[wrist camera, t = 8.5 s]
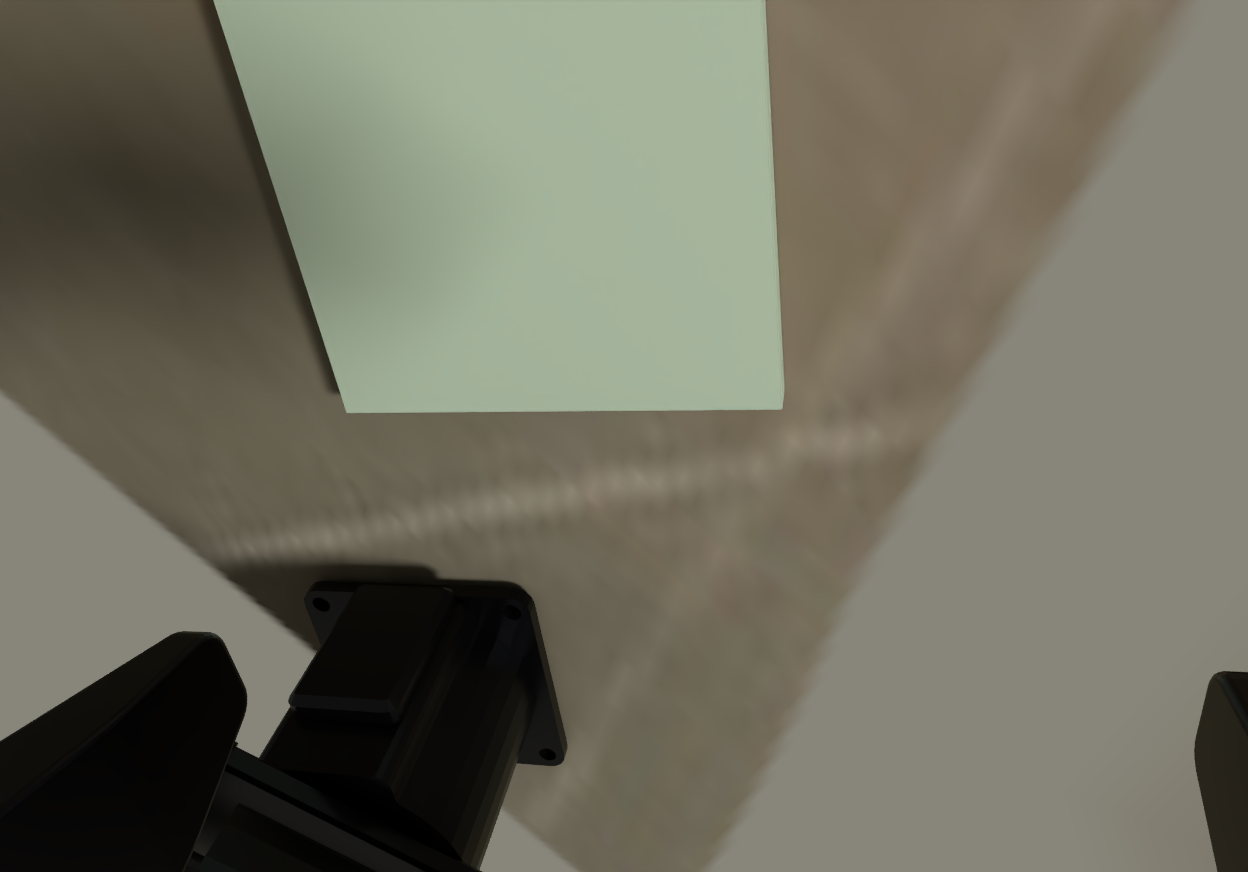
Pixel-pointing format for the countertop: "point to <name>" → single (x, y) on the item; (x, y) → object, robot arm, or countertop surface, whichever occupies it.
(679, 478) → the countertop surface
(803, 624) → the countertop surface
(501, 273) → the mat
